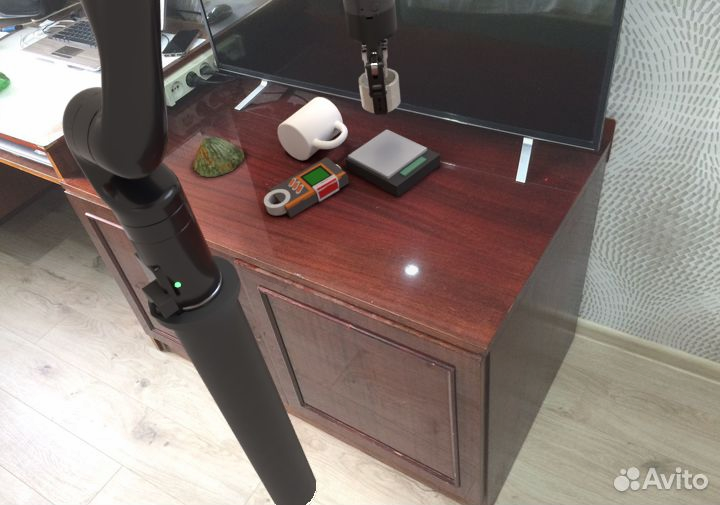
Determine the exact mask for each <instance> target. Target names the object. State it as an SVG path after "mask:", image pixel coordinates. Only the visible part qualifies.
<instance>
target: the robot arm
mask: <svg viewBox="0 0 720 505" xmlns="http://www.w3.org/2000/svg"><path fill="white" fill-rule="evenodd" d="M79 2H80V4H81V8H82V9H83V12H84V14H85V16H86V19H87V21H88V24H89V26H90V29H91V32H92V34H93V37H94V40H95V44H96V48H97V53H98V58H99V65H100V82H101V83H100V86H93V87H92V86H91V87H87V88H85V89H83V90H81V91H79V92H77V93H76V94H75V95H73V96H72V98H71V99H70V100H69V101H68V103H67V104H66V106H65V109H64V111H63V113H62V114H63V115H62V124H61V125H62V133H63V137H64V140H65V143H66V145H67V147H68V149H69V151H70V153H71V155H72V157H73V158H74V160H75V162H76V163H77V165H78V166H79V168H80V170H81V172H82V173H83V174H84V176H85V178H86V179H87V181H88V183H89V184H90V185H91V187H92V188H93V190H94V192H95V194H96V195H97V196H98V197H99V199H100V200H101V201H102V202H103V203H104V204H105V205H106V206H107V207H108V208H109V209H110V210H111V211H112V213H113V214H114V216H115V218H116V219H117V220H118V222H119V224H120V226H121V228H122V230H123V231H124V234H125V235H126V237H127V238H128V240H129V242H130V243H131V245H132V247H133V249H134V250H135V252H134V253H133V255H134V257H135V260H137V262H138V264H139V266H140V268H141V270H142V271H143V273H144V275H145V276H146V278H147V280H148V282H149V283H148V284H146V285H145V286H143V287H141V291H142V293H143V294H144V295H145V298H146V299H147V302H148V301H149V302H150V303H151V306H150V309H149V313H150V314H149V315H150V316H151V317H152V318H154V319H155V318H156V319H168V317H169V316H170V315H172V314H173V313H175V314H176V315H177V316H179V315H181V314H182V313H184V312H188V311H193V310H197V309H200V308H202V307H204V306H206V305H207V304H209V303H210V302H211V301H213V300H214V299H215V298H216V297H217V295H218V294H219V293H220V291H221V289H222V286H223V277H222V274H221V272H220V270H219V268H218V266H217V264H216V263H215V260H214V258H213V256H212V255H213V254H212V251H211V248H210V247H209V245H208V242H207V240H206V238H205V235H204V233H203V231H202V229H201V227H200V224H199V221H198V220H197V218H196V215H195V213H194V210H193V208H192V206H191V203H190V201H189V199H188V197H187V194H186V192H185V189H184V188H183V186H182V183H181V181H180V179H179V177H178V175H176V173H175V172H174V171H173V170H172V169H171V168H169V166H167V164H165V163H164V162H163V160H164V158H165V156H166V153H167V149H168V145H169V137H170V136H169V135H170V134H169V132H170V131H169V116H168V106H167V98H166V97H167V96H166V88H165V79H164V68H163V53H162V10H161V9H162V7H161V5H162V4H161V0H79ZM342 3H343V4H342V5H343V10H344V17H345V23H346V24H345V25H346V30H347V35H348V37H349V38H350V39H351V40H352V41H354V42H356V43H361V48H362V49H361V59H362V61H363V63H364V73H365V74H366V79H367V80H368V85H369V96H370V98H372V100H373V107H374V113H375V114H374V113H373V114H374V115H376V116H381V115H386V114H388V113H389V112H388V107H387V98H386V94H387V88H386V83H385V79H386V78H387V77H388V69H387V68H388V58H389V52H388V50H389V48H388V39H390V38H391V37H392V36H394V35H395V34H396V32H397V29H398V20H397V10H396V9H397V7H396V0H342ZM383 68H384V72H383ZM373 85H381V86H379V87H373ZM156 309H157V310H158V311H159V312H160V313H157V312H156ZM156 319H155V320H156Z"/></svg>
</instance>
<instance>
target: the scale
mask: <svg viewBox="0 0 720 505" xmlns="http://www.w3.org/2000/svg"><path fill="white" fill-rule="evenodd" d="M344 162H345V168H346V170H347V171H349V172H351V173H353V174H355V175H356V176H359V177H360V178H362V179H364V180H366V181H367V182H369V183H371V184H373V185H375V186H376V187H378V188H380V189H381V190H384V191H386V192H388V193H390V194H391V195H393V196H395V197H397V198H399V197H401V196H402V195H403V194H404V193H405V192H406V191H409V190H410V189H411V188H413V187H414V186H415V185H416V184H417V183H419V182H420V181H421V180H423V179H424V178H425V177H427V176H428V175H429V174H431V173H432V172H433V171H434V170H436V169H438V168H439V167H440V166H441V154H440V153H438V152H436V151H433V150H431V149H429V148H428V147H426V146H423V145H422V144H419V143H417V142H415V141H413V140H411V139H410V138H409V139H408V138H406V137H404V136H403V135H400V134H398V133H395V132H394V131H391V130H389V129H385V130H383V131H381V133H379V134H377V135H376V136H374V137H373V138H372V139H370V140H369V141H367V142H366V143H364V144H363V145H361V146H360V147H358V148H357V149H356V150H354V151H352V152H351V153H350V154H348V155H347V156H346V157H345V158H344Z"/></svg>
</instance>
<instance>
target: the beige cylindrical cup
mask: <svg viewBox="0 0 720 505" xmlns="http://www.w3.org/2000/svg"><path fill="white" fill-rule="evenodd" d="M387 69H388V77H387V78H386V79H385V83H386V88H387V94H386V98H387V107H388V113H391V112H392V111H394V110H395V109H397V108H398V107H399V105H400V104H401V90H400V89H401V88H400V79H399V78H400V76H399V73H398V72H397V71H396V70H394V69H392V68H388V67H387ZM383 72H384V68H383ZM379 86H381V85H373V87H379ZM358 88H359V94H360V100H361V106H362V108H363V110H364V111H367V112H368V113H371V114H374V115H376V114H375V113H374V107H373V100H372V98H370V96H369V85H368V80H367V79H366V74H365V72H363V73H362V74H360V76H359V77H358Z"/></svg>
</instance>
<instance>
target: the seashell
mask: <svg viewBox="0 0 720 505" xmlns="http://www.w3.org/2000/svg"><path fill="white" fill-rule="evenodd" d="M244 160H245V153H244V150H242V149H241V148H240V147H237V146H236V145H234V144H232V143H231V142H229V141H227V140H225V139H223V138H220V137H218V136H217V137H216V136H212V137H211V136H210V137H206V138H204V139H202V140H201V141H200V142H199V143H198V147H197V150H196V154H195V158H194V159H193V163H192V168H193V169H194V172H196V173H197V174H199V175H200V176H201V177H205V178H213V177H219V176H223V175H226V174H229V173H230V172H233V171H234V170H235V169H237V168H238V167H240V165H241V164H242V163H243V162H244Z"/></svg>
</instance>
